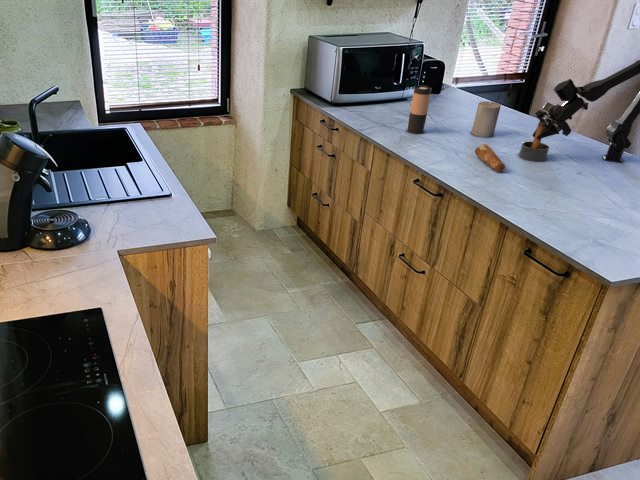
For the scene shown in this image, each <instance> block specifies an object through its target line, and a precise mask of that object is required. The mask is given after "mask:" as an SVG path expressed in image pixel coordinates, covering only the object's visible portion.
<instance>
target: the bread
mask: <svg viewBox="0 0 640 480" xmlns="http://www.w3.org/2000/svg"><path fill="white" fill-rule="evenodd" d="M474 153H475V156H476V157H477V158H478V159H479V160H480V161H482V162H483V163H485V164H486V165H487V166H488V167H489V168H491V169H492V170H494V171H495V172H498V173H501V172H504V170H505V169H506V165H505V163H504V162H503V161H502V160H501V158H500V157H499V156H498V154H496V152H495V151H494V150H493V148H491V146H489V145H488V144H486V143H483V144H481V145H479V146H477V147H476V148H475V150H474Z"/></svg>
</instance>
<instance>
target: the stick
mask: <svg viewBox="0 0 640 480" xmlns="http://www.w3.org/2000/svg"><path fill="white" fill-rule="evenodd" d="M545 126H546V123H544V122H540V121H538V123H537V127H536V129H537V130H536V129H535V130H536V133H535V137H533V140H532V142H533V144H532V147H531V148H532V149H539V146H540V143H542V140H543V138H541V139H537V136H538V135H539V134H540V133H541V132H543V131H544V129H545Z"/></svg>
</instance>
